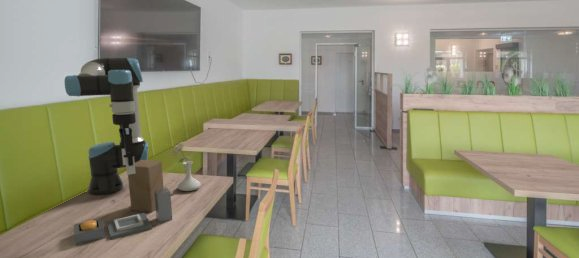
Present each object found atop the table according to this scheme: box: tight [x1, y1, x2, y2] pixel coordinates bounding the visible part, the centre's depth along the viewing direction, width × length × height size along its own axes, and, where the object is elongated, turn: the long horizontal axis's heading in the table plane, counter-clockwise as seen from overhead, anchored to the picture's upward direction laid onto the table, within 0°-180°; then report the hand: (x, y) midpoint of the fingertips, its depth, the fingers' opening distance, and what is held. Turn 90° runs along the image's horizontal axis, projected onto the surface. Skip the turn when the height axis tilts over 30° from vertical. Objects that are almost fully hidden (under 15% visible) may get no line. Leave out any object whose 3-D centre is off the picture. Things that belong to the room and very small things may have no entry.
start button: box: [80, 219, 97, 231], centre depth 121 cm, size 5×5×3 cm
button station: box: [73, 217, 106, 246], centre depth 121 cm, size 9×9×4 cm
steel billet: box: [154, 187, 173, 224], centre depth 134 cm, size 5×5×12 cm
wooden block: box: [127, 159, 165, 213], centre depth 144 cm, size 10×10×20 cm
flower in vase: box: [172, 141, 202, 192], centre depth 164 cm, size 13×11×25 cm
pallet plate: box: [106, 212, 153, 240], centre depth 128 cm, size 14×14×2 cm
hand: (129, 169), depth 124 cm, fingers open, 13 cm apart
